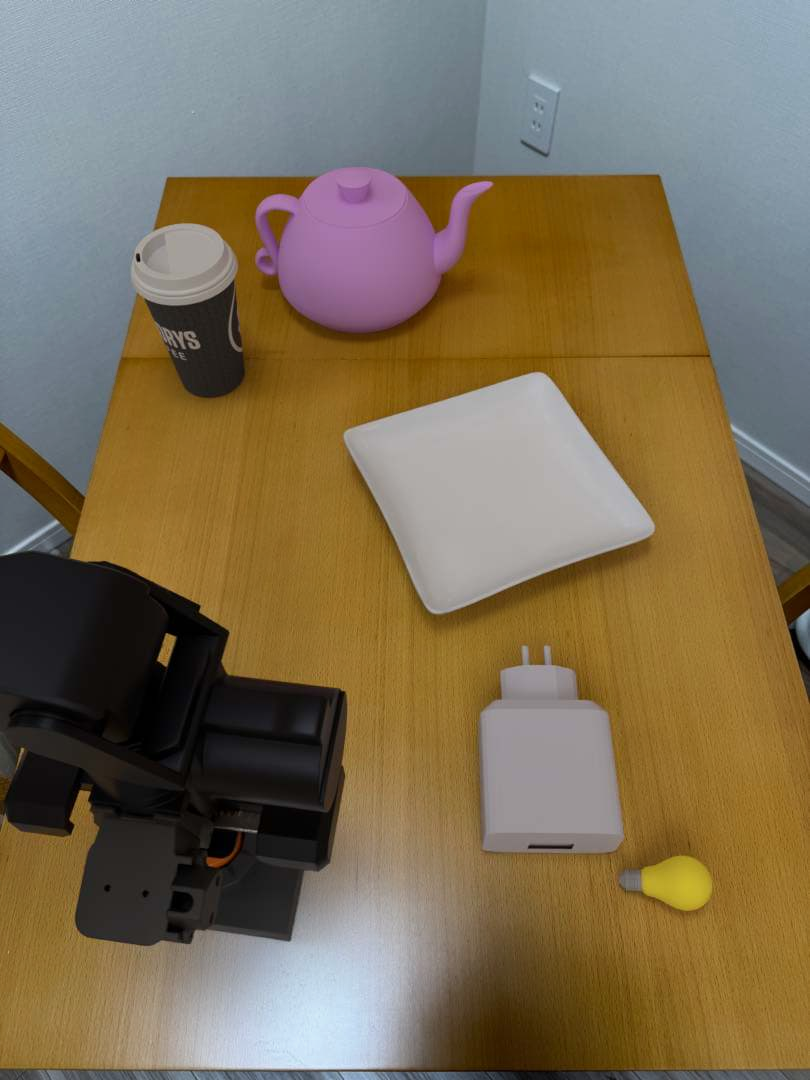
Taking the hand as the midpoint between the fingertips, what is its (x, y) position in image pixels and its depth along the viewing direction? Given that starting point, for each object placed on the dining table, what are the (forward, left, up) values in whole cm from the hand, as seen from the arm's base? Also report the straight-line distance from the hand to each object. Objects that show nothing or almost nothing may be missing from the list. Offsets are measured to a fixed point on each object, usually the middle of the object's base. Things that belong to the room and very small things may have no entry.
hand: (207, 834), depth 56 cm
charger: (+17, +17, -5) cm, 25 cm away
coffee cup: (-28, +39, -5) cm, 48 cm away
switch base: (0, 0, -5) cm, 5 cm away
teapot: (-20, +58, -5) cm, 61 cm away
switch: (0, 0, -2) cm, 2 cm away
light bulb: (+28, +12, -5) cm, 31 cm away
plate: (+4, +37, -5) cm, 38 cm away
